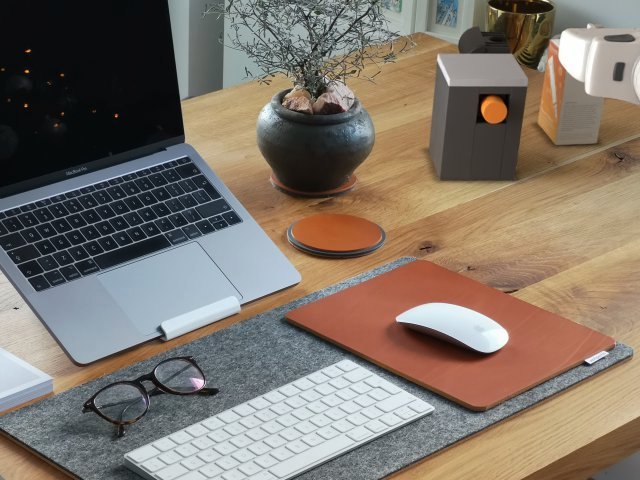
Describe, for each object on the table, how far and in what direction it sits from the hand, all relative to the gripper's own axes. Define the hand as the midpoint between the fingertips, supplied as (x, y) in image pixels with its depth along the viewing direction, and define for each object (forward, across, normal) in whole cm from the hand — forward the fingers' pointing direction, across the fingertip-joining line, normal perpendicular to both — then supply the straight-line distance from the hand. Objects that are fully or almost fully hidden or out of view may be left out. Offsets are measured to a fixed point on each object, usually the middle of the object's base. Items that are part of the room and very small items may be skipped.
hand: (631, 29), depth 135 cm
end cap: (+43, +8, +21) cm, 49 cm away
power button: (+2, +15, +13) cm, 20 cm away
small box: (+18, 0, +21) cm, 28 cm away
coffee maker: (+7, +16, +21) cm, 27 cm away
